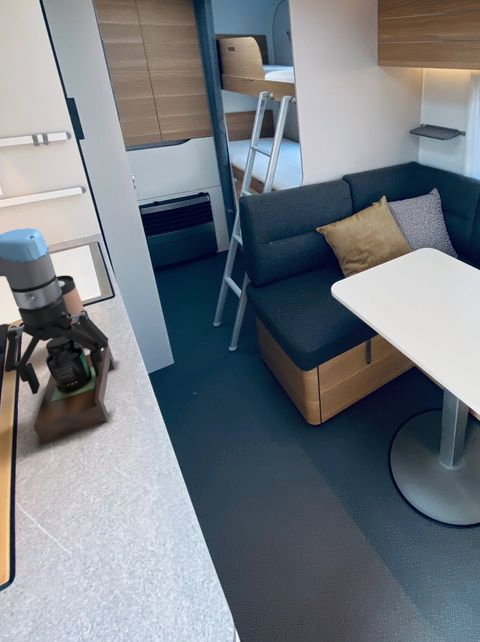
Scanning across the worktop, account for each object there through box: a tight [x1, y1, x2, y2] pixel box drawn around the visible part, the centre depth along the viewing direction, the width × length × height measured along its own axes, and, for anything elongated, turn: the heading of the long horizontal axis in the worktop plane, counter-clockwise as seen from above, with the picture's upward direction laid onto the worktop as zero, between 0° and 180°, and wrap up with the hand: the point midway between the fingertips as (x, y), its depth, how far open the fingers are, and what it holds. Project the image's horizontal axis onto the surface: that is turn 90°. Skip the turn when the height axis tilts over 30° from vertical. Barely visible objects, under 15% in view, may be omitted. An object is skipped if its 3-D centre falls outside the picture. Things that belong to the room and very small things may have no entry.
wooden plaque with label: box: [33, 343, 116, 444], centre depth 95 cm, size 12×20×7 cm, turn 26°
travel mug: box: [56, 274, 92, 349], centre depth 111 cm, size 8×8×20 cm
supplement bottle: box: [45, 336, 92, 393], centre depth 92 cm, size 7×7×12 cm
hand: (68, 381), depth 94 cm, fingers open, 11 cm apart
